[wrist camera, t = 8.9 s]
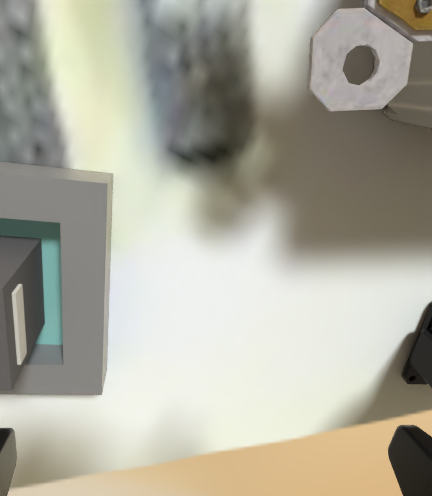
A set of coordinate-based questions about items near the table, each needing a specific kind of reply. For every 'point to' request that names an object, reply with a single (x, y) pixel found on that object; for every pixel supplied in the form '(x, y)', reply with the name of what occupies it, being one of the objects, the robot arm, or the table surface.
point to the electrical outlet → (377, 59)
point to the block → (19, 304)
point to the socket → (64, 272)
